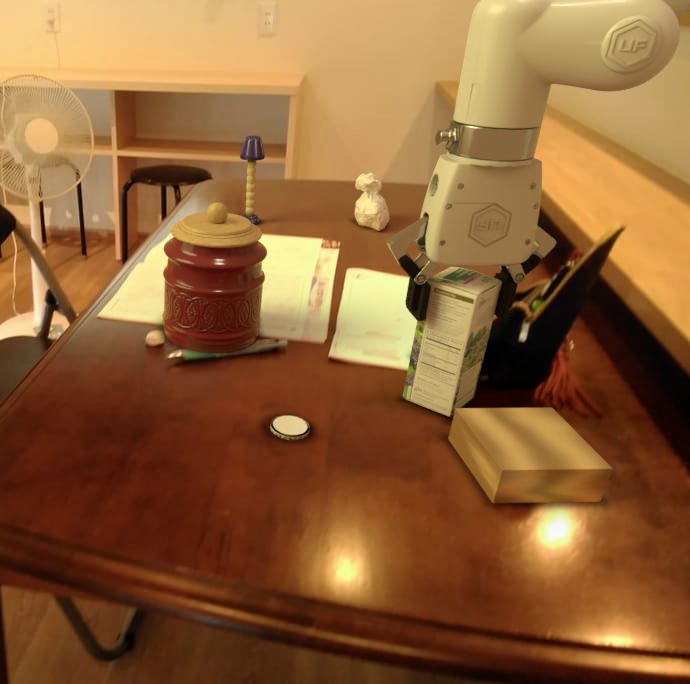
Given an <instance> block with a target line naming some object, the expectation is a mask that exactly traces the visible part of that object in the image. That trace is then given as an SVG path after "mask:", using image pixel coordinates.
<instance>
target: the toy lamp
mask: <svg viewBox="0 0 690 684" xmlns="http://www.w3.org/2000/svg"><path fill="white" fill-rule="evenodd" d="M265 155H266V154H265V149H264V145H263V140H262V137H261V136H259V135H246V136H245V138H244V139H243V143H242V147H241V150H240V155H239V158H240V159H241V160H242V161H247V169H246V174H247V176H246V186H245V188H246V193H245V197H246V200H245V206H246V207H245V213H243V214H242V215H241V216H243V217H245V218H247V219H248V220H249V221H250V222H251V223H252V224H254V225H255V226H258V225H260V223H261V220H260V218H259V216H258V215H256V214H255V202H256V201H255V197H256V193H255V191H256V173H257V169H256V166H257V161H263V160H264V159H265Z"/></svg>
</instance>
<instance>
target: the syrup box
mask: <svg viewBox="0 0 690 684" xmlns="http://www.w3.org/2000/svg"><path fill="white" fill-rule="evenodd" d="M427 283H428V284H429V285H430V286H431V291H430V296H429V302H428V307H427V312H426V318H425V320H423V321H417V320H416V326H415V331H414V336H413V341H412V345H411V352H410V355H409V356H410V358H409V362H408V367H407V372H406V377H405V382H404V388H403V394H402V398H403V399H404V400H406V401H409V402H411V403H413V404H416V405H418V406H420V407H424V408H426V409H429V410H431V411H433V412H436V413H439V414H440V415H444V416H447V417H449V418H452V416H454V413H455V409H456V408H464V407H465V406H466V405H467V404H468V403H469V402H470V401H472V400H473V399H474V398H475V394H476V391H477V385H478V382H479V378H480V375H481V370H482V365H483V362H484V358H485V355H486V354H485V353H486V350H487V345H488V342H489V338H490V334H491V330H492V327H493V321H494V317H495V310H496V305H497V301H498V297H499V293H500V289H501V285H502V281H501V280H499V279H496V278H494V276H491V275H489V274H486V273H483V272H479V271H476V270H472V269H468V268H464V267H460V266H448V267H447V268H446V269H444V270H442V271H440V272H438V273H436V274H434V275H432V276H431V277H430V278H429V279H428V280H427Z"/></svg>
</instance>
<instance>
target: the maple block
mask: <svg viewBox="0 0 690 684" xmlns="http://www.w3.org/2000/svg"><path fill="white" fill-rule="evenodd" d="M447 438H448V441H449V442H450V444H451V445H452V447H453V448H454V450H455V451H456V452H457V453H458V456H459V457H460V458H461V459H462V461H463V463H464V464H465V465H466V468H468V470H469V471H470V473H471V474H472V476H473V477H474V478H475V480H476V482H477V483H478V484H479V486H480V487H481V488H482V490H483V491H484V493H485V495H486V496H487V497H488V499H489V500H490V502H491V503H492V504H531V503H532V504H533V503H534V504H536V503H542V504H543V503H596V502H597V503H598V502H601V501H602V498H603V495H604V493H605V490H606V488H607V486H608V483H609V481H610V477H611V476H612V472H613V470H614V469H613V467H612V466H611V465H610V464H609V463H608V461H606V460H605V459H604V458H603V457H602V456H601V454H599V453H598V452H597V451H596V450H595V449H594V448H593V447H592V446H591V445H590V443H588V442H587V441H586V440H585V439H584V438H583V437H582V436H581V434H579V433H578V432H577V431H576V429H574V428H573V426H571V424H569V423H568V422H567V421H566V420H565V419H564V418H563V416H561V415H560V414H559V412H557V411H556V410H555V409H554V408H553V407H551V406H550V407H462V408H456V409H455V413H454V415H453V417H452V421H451V425H450V429H449V434H448V437H447Z"/></svg>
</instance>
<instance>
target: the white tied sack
mask: <svg viewBox="0 0 690 684" xmlns="http://www.w3.org/2000/svg"><path fill="white" fill-rule="evenodd" d="M354 187H355V189H356V190H357V191H362V193H361V195H360V197H359V198H358V199H357V200H356V201H355V205H354V206H355V207H354V217H355V218H354V219H355V220H356V222H357V224H358V225H359V226H361V227H365V228H369V229H373V230H375V231H377V232H381V231H382V230H385V228H386V226H387V225H388V223H389V222H390V219H391V218H390V213H389V208H388V204H387V201H386V200H385V198H384V197H383V196H382V195H381V194H380V193H379V192H380V191H381V190H382V187H383V184H382V179H380V177H378V176H377V175H376V174H374V173H373V172H368V173H361V174H360V175H358V177H357V178H356V180H355V184H354Z"/></svg>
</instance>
